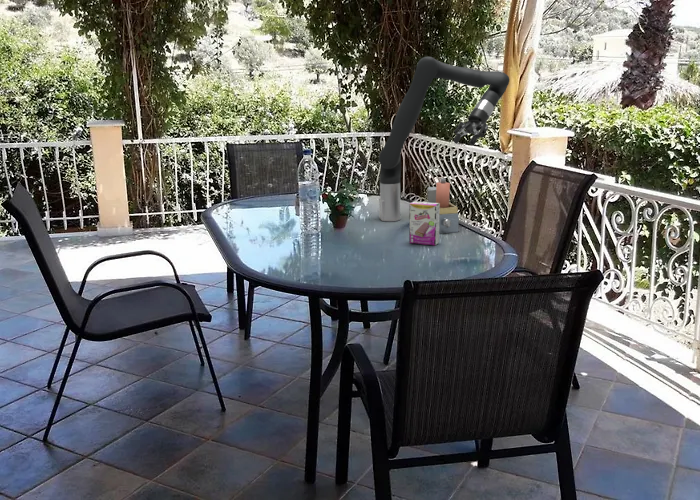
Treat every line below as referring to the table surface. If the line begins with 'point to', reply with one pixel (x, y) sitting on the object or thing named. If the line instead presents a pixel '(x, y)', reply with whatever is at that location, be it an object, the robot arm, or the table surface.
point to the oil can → (443, 193)
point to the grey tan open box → (448, 219)
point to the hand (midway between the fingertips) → (462, 143)
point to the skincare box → (432, 194)
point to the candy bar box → (424, 223)
